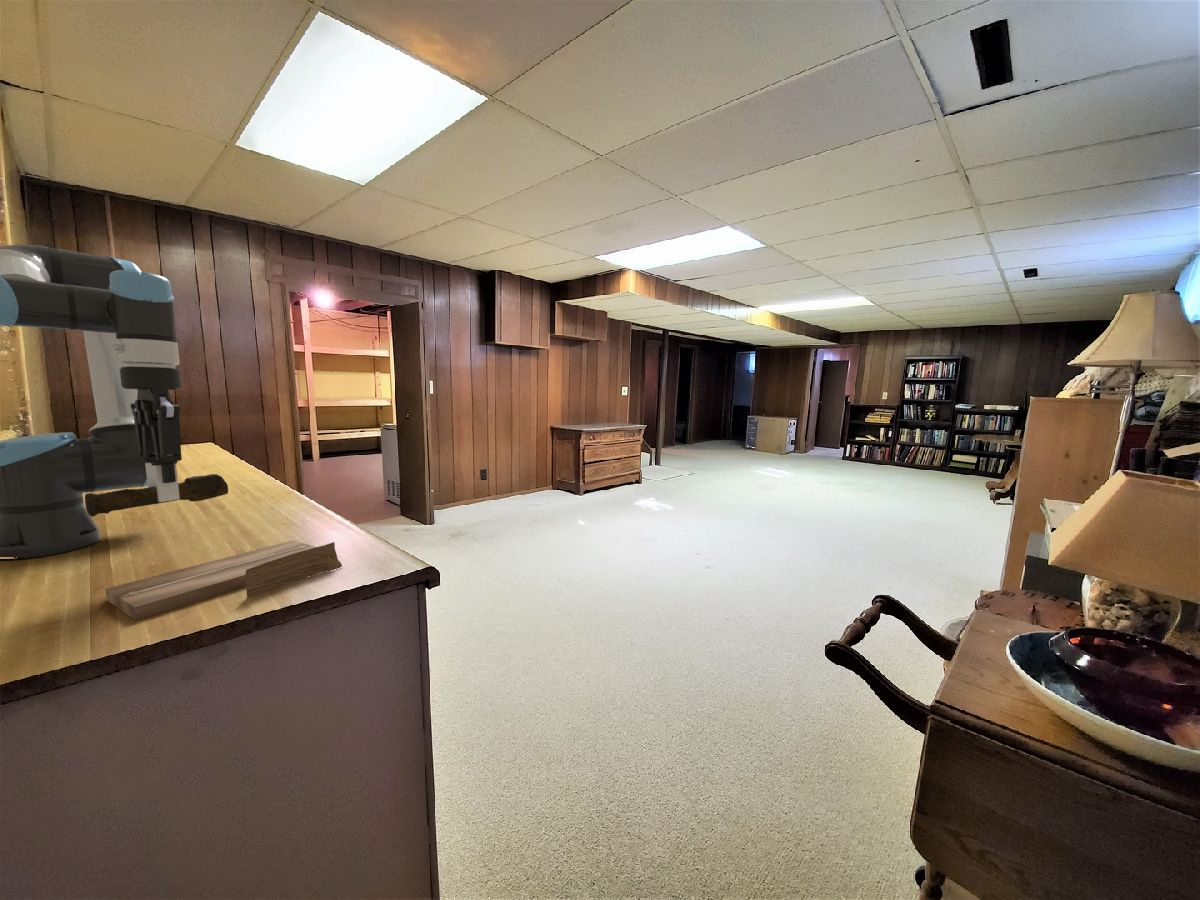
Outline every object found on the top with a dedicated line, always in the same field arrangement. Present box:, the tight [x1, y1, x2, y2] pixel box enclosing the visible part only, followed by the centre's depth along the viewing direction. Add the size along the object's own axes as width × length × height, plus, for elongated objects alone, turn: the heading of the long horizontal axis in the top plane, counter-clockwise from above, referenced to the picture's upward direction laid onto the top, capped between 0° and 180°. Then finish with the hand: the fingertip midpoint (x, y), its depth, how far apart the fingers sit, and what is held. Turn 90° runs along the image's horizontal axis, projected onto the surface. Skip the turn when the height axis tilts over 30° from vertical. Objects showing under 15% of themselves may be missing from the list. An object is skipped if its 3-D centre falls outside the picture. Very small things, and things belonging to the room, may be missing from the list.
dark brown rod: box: [84, 473, 229, 518], centre depth 82 cm, size 19×4×5 cm, turn 147°
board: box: [105, 539, 316, 621], centre depth 82 cm, size 12×28×2 cm, turn 151°
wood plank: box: [244, 541, 343, 598], centre depth 81 cm, size 15×2×5 cm, turn 153°
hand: (164, 498), depth 83 cm, fingers closed on dark brown rod, 3 cm apart
